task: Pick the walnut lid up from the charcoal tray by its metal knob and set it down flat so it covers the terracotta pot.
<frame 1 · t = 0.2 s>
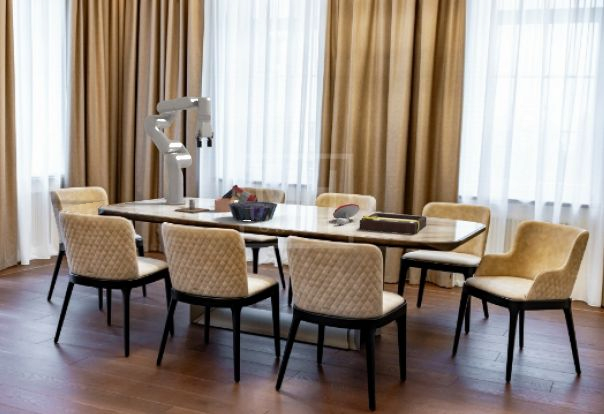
hand: (204, 147, 393), 36 cm above the table, tool pointing down, fingers open, 9 cm apart
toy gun: (238, 207, 403), on the table
walnut lid: (192, 210, 379), point 1 cm above the table, touching charcoal tray
dark brown open box: (392, 229, 338), on the table
terracotta pot: (224, 211, 382), on the table
charcoal tray: (192, 211, 379), on the table
decorative bowl: (252, 219, 359), on the table
mushroom: (341, 222, 354), on the table
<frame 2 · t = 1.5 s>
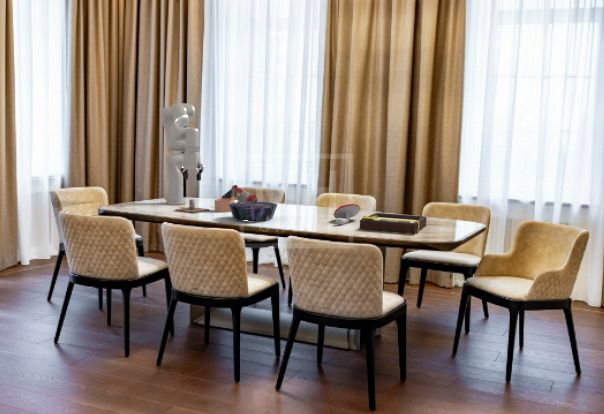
hand: (192, 179, 377), 18 cm above the table, tool pointing down, fingers open, 9 cm apart
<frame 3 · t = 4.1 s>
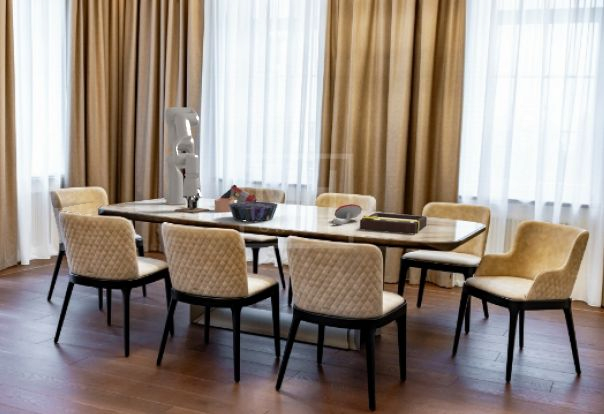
hand: (192, 207, 379), 2 cm above the table, tool pointing down, fingers closed on walnut lid, 3 cm apart
walnut lid: (192, 210, 379), point 1 cm above the table, touching charcoal tray, gripper
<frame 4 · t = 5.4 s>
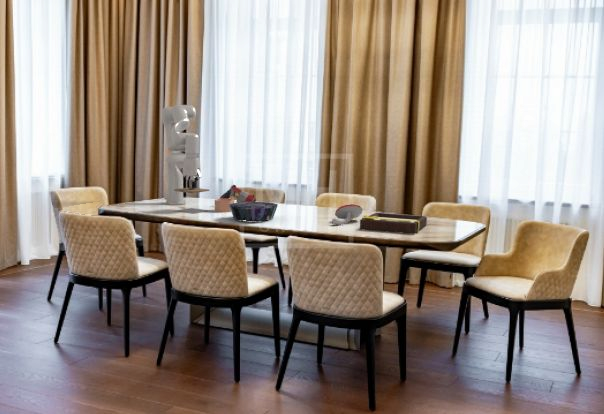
hand: (191, 187, 378), 14 cm above the table, tool pointing down, fingers closed on walnut lid, 3 cm apart
walnut lid: (191, 190, 378), point 12 cm above the table, touching gripper
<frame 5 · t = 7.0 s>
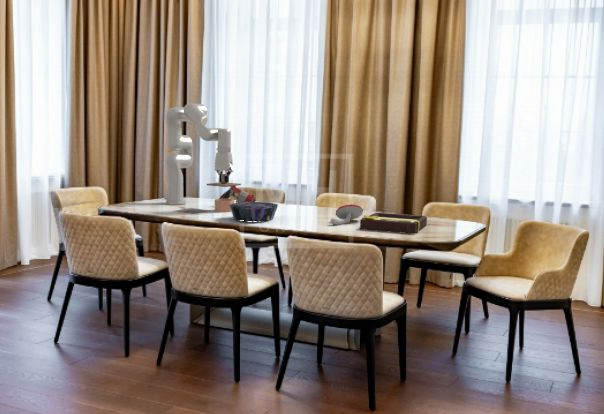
hand: (224, 182, 379), 17 cm above the table, tool pointing down, fingers closed on walnut lid, 3 cm apart
walnut lid: (224, 185, 380), point 16 cm above the table, touching gripper
when the fingers open (10 cm above the table, at t = 9.0 s): walnut lid drops 1 cm, resting on terracotta pot.
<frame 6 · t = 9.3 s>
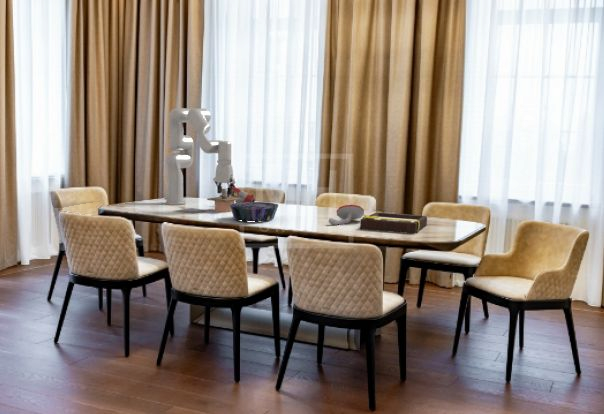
hand: (224, 193, 380), 11 cm above the table, tool pointing down, fingers open, 6 cm apart
walnut lid: (224, 199, 381), point 7 cm above the table, touching terracotta pot
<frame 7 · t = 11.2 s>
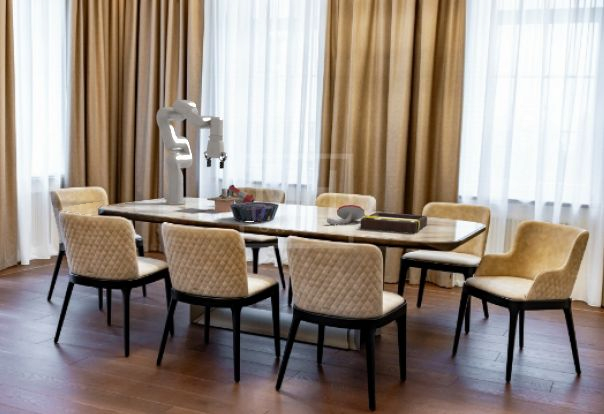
hand: (215, 167, 386), 25 cm above the table, tool pointing down, fingers open, 9 cm apart
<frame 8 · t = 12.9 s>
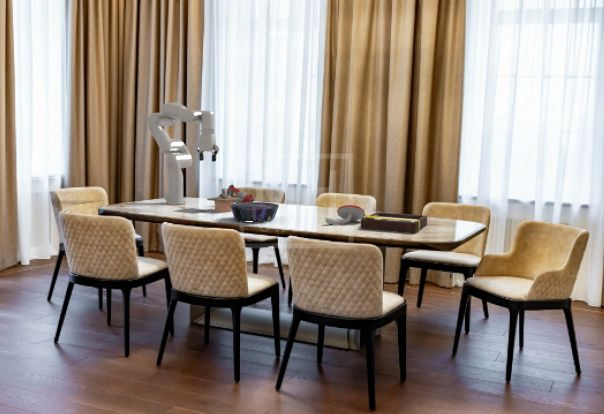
hand: (207, 161, 391), 28 cm above the table, tool pointing down, fingers open, 9 cm apart
at the end: walnut lid 0.1 cm off-centre on the terracotta pot, point 7.0 cm above the terracotta pot's base; walnut lid tilted 0°; the gripper is holding nothing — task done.
